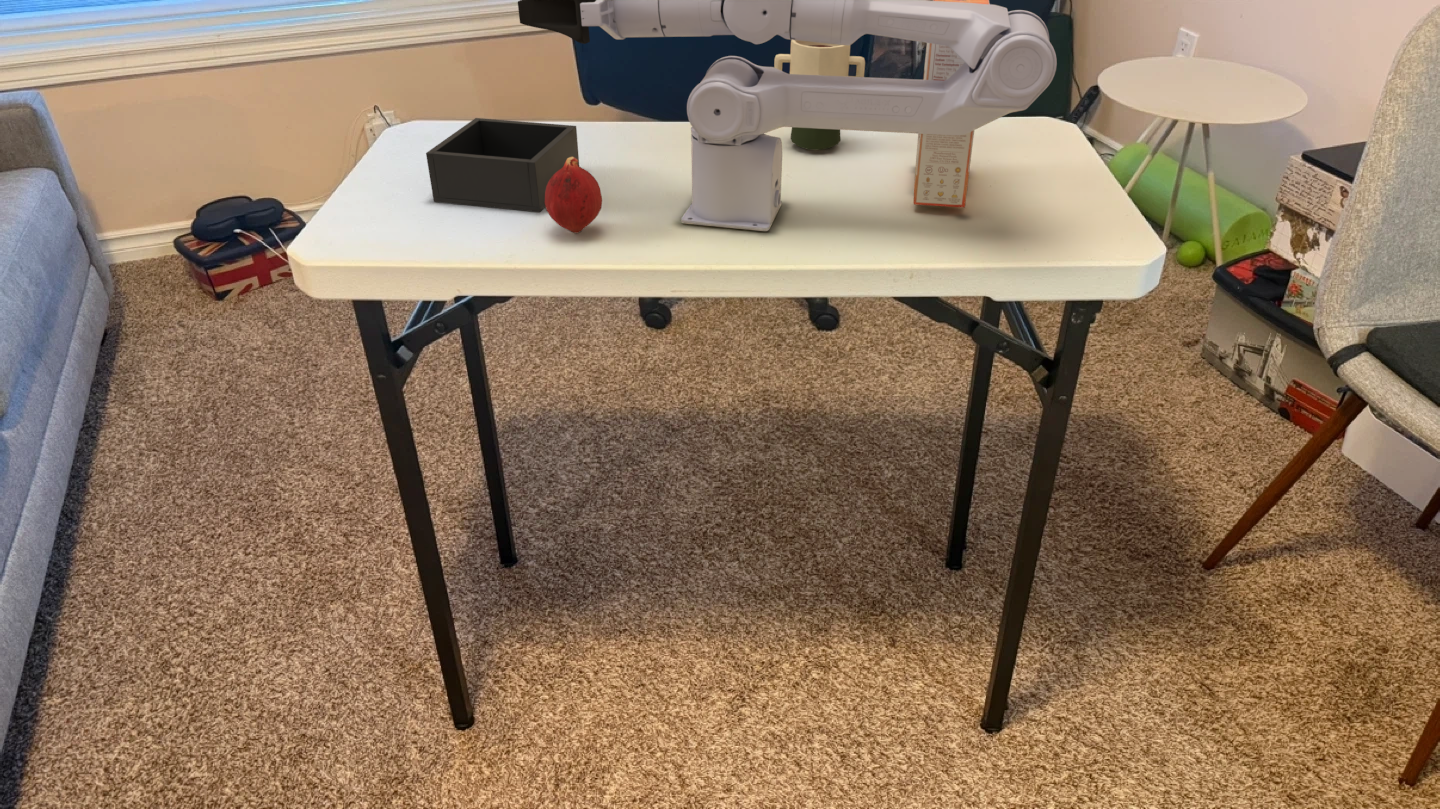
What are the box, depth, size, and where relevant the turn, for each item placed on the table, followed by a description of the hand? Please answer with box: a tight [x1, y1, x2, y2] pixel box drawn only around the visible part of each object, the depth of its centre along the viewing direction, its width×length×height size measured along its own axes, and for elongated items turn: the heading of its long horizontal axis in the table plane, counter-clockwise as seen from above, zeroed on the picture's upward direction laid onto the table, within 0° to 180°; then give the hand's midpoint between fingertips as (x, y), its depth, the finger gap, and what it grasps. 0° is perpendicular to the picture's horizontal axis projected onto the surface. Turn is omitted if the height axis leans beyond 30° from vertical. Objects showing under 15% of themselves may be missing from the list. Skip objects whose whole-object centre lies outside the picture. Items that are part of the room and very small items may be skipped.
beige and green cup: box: [773, 39, 866, 151], centre depth 125 cm, size 11×7×13 cm, turn 83°
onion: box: [545, 157, 603, 234], centre depth 103 cm, size 6×6×8 cm
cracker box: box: [912, 0, 991, 208], centre depth 110 cm, size 14×6×21 cm, turn 168°
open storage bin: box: [425, 117, 580, 213], centre depth 115 cm, size 13×13×6 cm
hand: (533, 8), depth 102 cm, fingers open, 7 cm apart
